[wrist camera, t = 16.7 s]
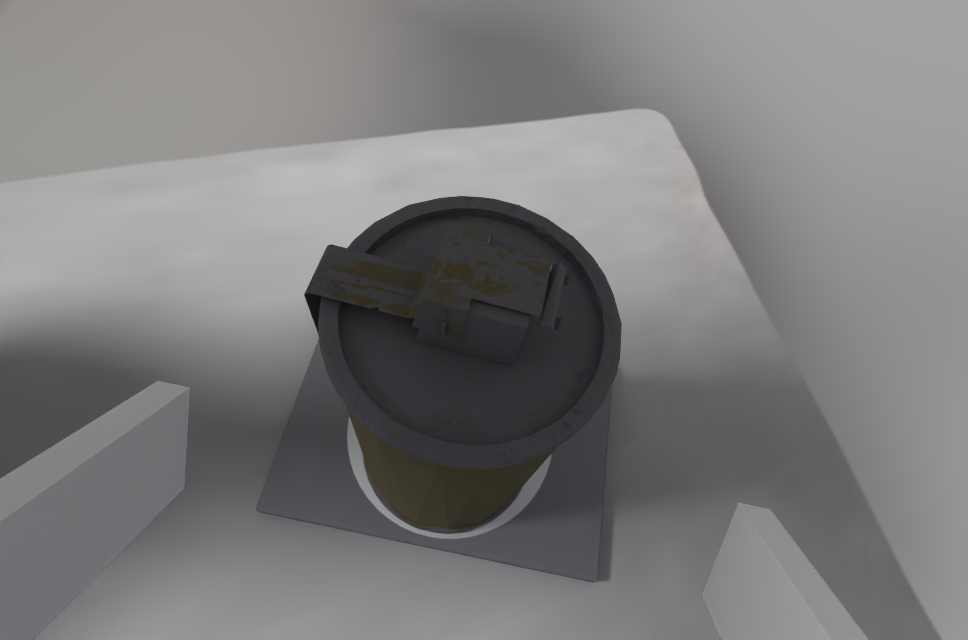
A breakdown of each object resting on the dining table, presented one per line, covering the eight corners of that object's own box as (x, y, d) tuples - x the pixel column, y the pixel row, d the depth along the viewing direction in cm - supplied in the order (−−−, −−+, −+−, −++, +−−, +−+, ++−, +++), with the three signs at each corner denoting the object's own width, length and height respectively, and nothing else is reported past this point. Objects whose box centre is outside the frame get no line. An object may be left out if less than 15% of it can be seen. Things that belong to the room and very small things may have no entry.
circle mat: (259, 512, 32) (255, 509, 31) (333, 308, 38) (332, 302, 38) (592, 582, 32) (597, 581, 31) (609, 367, 39) (613, 362, 38)
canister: (544, 390, 36) (664, 187, 19) (511, 555, 31) (634, 489, 14) (387, 349, 36) (360, 108, 19) (330, 506, 31) (221, 378, 14)
